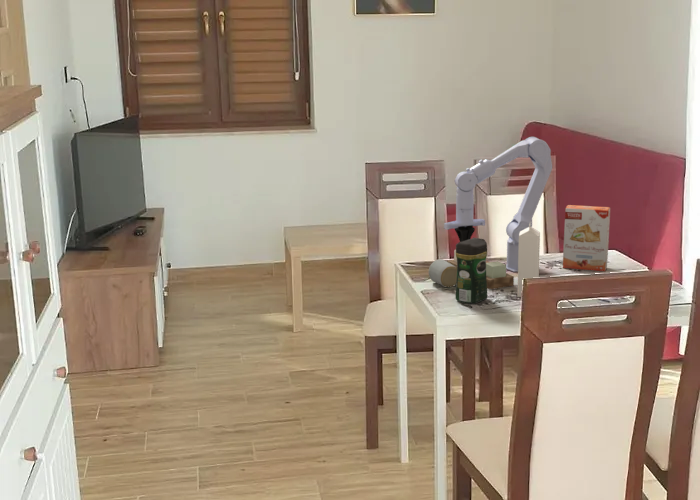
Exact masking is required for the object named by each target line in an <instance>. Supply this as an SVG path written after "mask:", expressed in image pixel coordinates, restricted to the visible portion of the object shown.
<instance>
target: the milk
mask: <svg viewBox="0 0 700 500" xmlns="http://www.w3.org/2000/svg"><path fill="white" fill-rule="evenodd" d="M540 245H541V232H540V231H538V230H537V229H535V228H534V227H533V226H532V227H531V226H530V224H529V227H528V228H526V229H524V230H522V231H520V234H519V250H518V272H517V295H516V296H517V298H522V297H521V291H522V280H523V278H533V277H540V275H539V274H540V249H541V248H540V247H541V246H540Z"/></svg>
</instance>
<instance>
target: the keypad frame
mask: <svg viewBox="0 0 700 500" xmlns="http://www.w3.org/2000/svg"><path fill="white" fill-rule="evenodd" d="M446 261H447V262H448V263H450V264H452V265H454V266H455V267H456V268H457V262H455V261H454V259H448V260H446ZM486 279H487V290H495V289H502V288H507V287H514V285H515V275H514V276H513V275H511V274H508V273H507V272H506V277H499V278H490V277H488V276H486Z"/></svg>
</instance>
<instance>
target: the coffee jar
mask: <svg viewBox="0 0 700 500" xmlns="http://www.w3.org/2000/svg"><path fill="white" fill-rule="evenodd" d="M455 250H456V257H457V280H456V285H455V300H456V301H458V302H459V303H462V304H478V303H480V302H483V301H485V300H486V299H487V298H488V288H487V279H486V261H487V256H488V243H487V241H486V239H484V238H479V237H471V239H469V240H466V241H462V242H460V241H459V242H457V243H456V244H455Z"/></svg>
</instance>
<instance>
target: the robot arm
mask: <svg viewBox="0 0 700 500" xmlns="http://www.w3.org/2000/svg"><path fill="white" fill-rule="evenodd" d="M551 153H552V150H551V148H550V146H549V145H548V143H547V142H546V141H545V140H543V139H539V138H538V137H536V136H529V137H527V138H525V139H523V140H521V141H519V142H518V143H516V144H514V145H513V146H511V147H510V148H508V149H506V150H504V151H503V152H501V153H500V154H498V155H497V156H495V157H494V158H492V159H486V158H485V159H480V160H478V163H477V164H475V165H473V166H471V167H467V168H466V169H465V171H460V172H459V173H457V175H456V177H455V179H454V183H455V185H456V195H455V196H456V197H455V199H456V200H455V220H453V221H449V222H444V223H443V229H444V230H446V231H447V230H452V229H453V230H454V231H455V233H456V235H457V237H458V240H459V242H462V241H466V240H469V239H472V236H473V234H474V233H475V230H476V229H475V227H477V226H478V227H479V226H486V220H485V219H483V218H474V214H475V213H474V212H475V211H474V205H475V204H474V202H475V201H474V199H475V198H474V197H475V195H474V189H475V187H476V185H479V184H480V183H482V182H483V181H485V180H486V179H488V178H491V177H492V176H494V175H495V174H496V171H497V169H499V168H501V167H502V166H504V165H506V164H507V163H510V162H511V161H513V160H515V159H519V158H526V159H527V158H530V160H531V162H532V164H533V166H534V171H533V174H532V176H531V178H530V181H529V184H528V186H527V188H526V191H525V193H524V196H523V199H522V200H521V203H520V206H519V208H518V211H517V213H516V214H514V216H513V218H512V219H511V221H509V223H507V225H506V228H505V231H506V232H505V233H506V235H507V236H508V239H507V240H506V242H507V244H506V270H508V271H510V272H513V273H514V272H515V273H518V250H519V234H520V231H522V230H524V229H526V228H528V227H529V224H530V226H531V227H532V228H533V219H534V218H533V217H534V216H535V212H536V210H537V208H538V205H539V203H540V200H541V198H542V195H543V192H544V190H545V187H546V186H547V182H548V180H549V177H550V175H551V173H552V170H553V161H552V155H551Z"/></svg>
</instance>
